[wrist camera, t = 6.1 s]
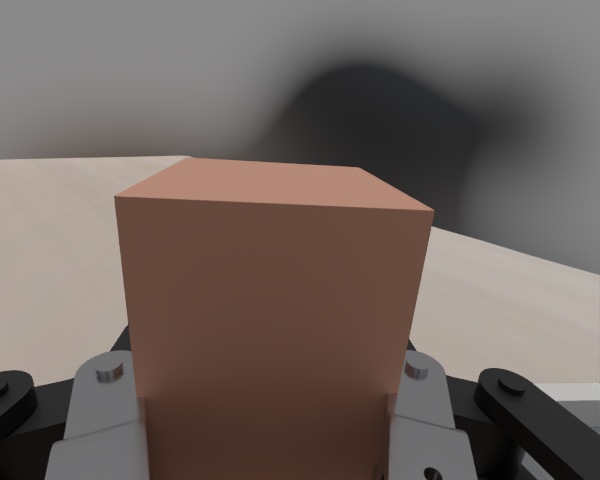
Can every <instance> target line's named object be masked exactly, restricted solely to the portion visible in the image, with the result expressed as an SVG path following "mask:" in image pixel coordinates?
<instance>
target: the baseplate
mask: <svg viewBox="0 0 600 480" xmlns="http://www.w3.org/2000/svg"><path fill="white" fill-rule="evenodd" d="M534 385H535V386H537V387H538V388H539V389H541V390H542V391H543V392H545V393H546V394H547V395H548V396H550V397H551V398H552V399H554V400H555V401H556V402H558V403H559V404H560V405H561V406H563V407H564V408H565V409H567V410H568V411H569V412H571V413H572V414H573V415H575V416H576V417H577V418H578V419H580V420H581V421H582V422H584V423H585V424H586V425H588V426H589V427H590V428H591V429H593V430H594V431H595V432H597V433H598V434H599V435H600V383H563V384H534ZM521 464H522V465H523V466H524V467H525V468H526V469H527V470H528V471H529V472H530V473H531V474H532V475H533V476H534V477H535V478H536V479H537V480H554V479H553V478H552V477H551V476H550V475H549V474H548V473H547V472H546V471H545V470H544V469H543V468H542V467H541V466H540V465H539V464H538V463H537V462H536V461H535V460H534V459H533V458H532V457H531V456H530V455H529V454H528V453H527V452H526V453H525V455H524V458H523V461H522V463H521Z"/></svg>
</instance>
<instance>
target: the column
mask: <svg viewBox="0 0 600 480" xmlns="http://www.w3.org/2000/svg"><path fill="white" fill-rule="evenodd" d="M114 199H115V208H116V217H117V226H118V235H119V244H120V253H121V262H122V271H123V280H124V289H125V298H126V307H127V316H128V325H129V334H130V343H131V352H132V361H133V370H134V379H135V388H136V397H144V398H145V408H146V418H147V432H148V444H149V455H150V465H151V473H152V475H153V480H372V475H373V470H374V465H378V464H379V460H380V455H381V449H382V441H383V431H384V412H385V406H386V401H387V395H388V393H398V389H399V384H400V379H401V375H402V370H403V365H404V360H405V355H406V350H407V345H408V340H409V335H410V330H411V325H412V320H413V315H414V310H415V305H416V300H417V295H418V290H419V285H420V280H421V276H422V271H423V266H424V261H425V256H426V251H427V246H428V241H429V236H430V231H431V226H432V220H433V216H434V210H433V209H431V208H429V207H427V206H426V205H424V204H422V203H420V202H418V201H417V200H415V199H413V198H411V197H410V196H408V195H406V194H404V193H403V192H401V191H399V190H397V189H396V188H394V187H392V186H390V185H389V184H387V183H385V182H383V181H381V180H380V179H378V178H376V177H375V176H373V175H371V174H369V173H368V172H366V171H364V170H362V169H361V168H357V167H356V168H355V167H340V166H323V165H305V164H287V163H286V164H285V163H271V162H270V163H269V162H253V161H236V160H218V159H201V158H185V159H183V160H182V161H180V162H178V163H176V164H174V165H172V166H170V167H168V168H166V169H165V170H163V171H161V172H159V173H157V174H155V175H153V176H151V177H149V178H148V179H146V180H144V181H142V182H140V183H138V184H136V185H134V186H132V187H131V188H129V189H127V190H125V191H123V192H121V193H119V194H117V195H115V196H114Z"/></svg>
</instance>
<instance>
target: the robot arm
mask: <svg viewBox="0 0 600 480" xmlns="http://www.w3.org/2000/svg"><path fill="white" fill-rule="evenodd" d="M526 452H527V453H528V454H529V455H530V456H531V457H532V458H533V459H534V460H535V461H536V462H537V463H538V464H539V465H540V466H541V467H542V468H543V469H544V470H545V471H546V472H547V473H548V474H549V475H550V476H551V477H552V478H553V479H554V480H600V435H599V434H598V433H597V432H595V431H594V430H593V429H591V428H590V427H589V426H588V425H586V424H585V423H584V422H582V421H581V420H580V419H578V418H577V417H576V416H575V415H573V414H572V413H571V412H569V411H568V410H567V409H565V408H564V407H563V406H561V405H560V404H559V403H558V402H556V401H555V400H554V399H552V398H551V397H550V396H548V395H547V394H546V393H545V392H543V391H542V390H541V389H539V388H538V387H537V386H535V385H534V384H533V383H532V382H530V381H529V380H527V379H526V378H524V377H522V376H520V375H518V374H516V373H514V372H511V371H508V370H504V369H499V368H489V369H485V370H483V371H482V372H481V373H480V376H479V379H478V382H473V381H468V380H464V379H459V378H455V377H451V376H448V375H445V371H444V369H443V367H442V366H441V365H440V364H439V363H438V362H437V361H436V360H435V359H433V358H432V357H430V356H428V355H426V354H424V353H421V352H418V351H416V349H415V348H414V346H413V345H412V343H411V341H410V340H408V345H407V350H406V355H405V360H404V365H403V370H402V375H401V379H400V384H399V389H398V393H388V395H387V401H386V406H385V412H384V431H383V441H382V449H381V455H380V460H379V464H378V465H374V470H373V475H372V480H537V479H536V478H535V477H534V476H533V475H532V474H531V473H530V472H529V471H528V470H527V469H526V468H525V467H524V466H523V465H522V464H521V463H522V461H523V458H524V455H525V453H526ZM0 480H153V475H152V473H151V465H150V455H149V444H148V432H147V418H146V408H145V398H144V397H136V388H135V379H134V370H133V361H132V352H131V343H130V334H129V325H128V326H126V328H125V329H124V331H123V332H122V334H121V335H120V337H119V338H118V340H117V341H116V343H115V344H114V346H113V347H112V349H111V350H110V352H106V353H103V354H100V355H97V356H95V357H93V358H91V359H89V360H88V361H87V362H85V363H84V364H83V365H82V366H81V367H80V368H79V369H78V370H77V372H76V374H75V378H72V379H69V380H65V381H61V382H56V383H51V384H47V385H42V386H37V387H34V383H33V379H32V377H31V375H30V374H28V373H26V372H23V371H17V370H12V371H3V372H0Z"/></svg>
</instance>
